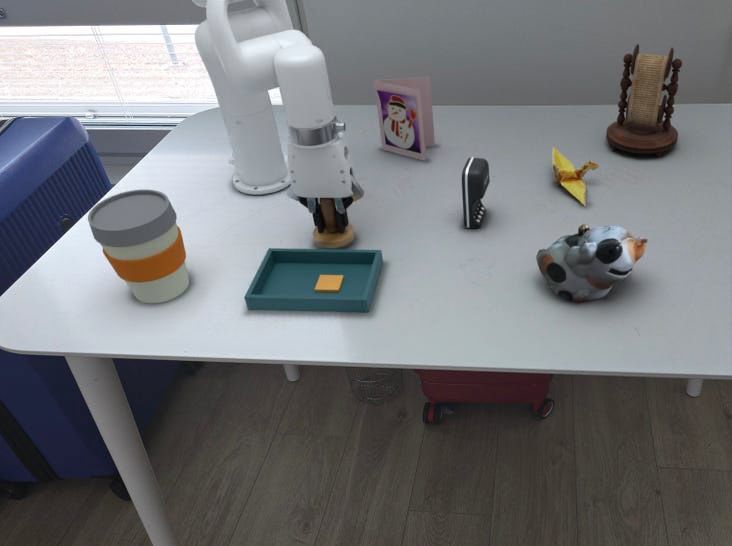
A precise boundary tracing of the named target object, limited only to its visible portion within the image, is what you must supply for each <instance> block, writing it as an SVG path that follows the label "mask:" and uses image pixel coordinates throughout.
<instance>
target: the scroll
mask: <svg viewBox="0 0 732 546" xmlns="http://www.w3.org/2000/svg"><path fill="white" fill-rule="evenodd" d="M634 46H635V47H634V49H633V52H632V54H631V53H626V54H625V55H623V58H622V61H623V63H624V64H623V67H624V69H623V71H622V78H620V83H619V87H620V90H621V93H620V95H619V99H620V100H619V101H618V102H617V107H618V110H617V111H618V115H617V117H616V121H614V122H612V123H611V124H609V125H608V126H607V129H606V133H605V138H606V141H607V142H608V143H609V144H610V145H611V150H612V151H613V152H614V151H616V149H618V150H621V151H624V152H628V153H633V154H656V157H657V158H660V157H661V156H662V154H663V152H665V151H667V150H670V149H672V148H673V147H675V145H676V144H677V143H678V138H679V132H678V130H677V128H676V127H674V125H672V123H671V119H672V118H673V116H672V115H673V114H674V112H675V107H674V104H675V96H676V95H677V93H678V89H679V84H678V81H679V73H680V72H681V70H680V69H681V68H682V67H683V61H682V59H680V58H675V59H673V58H674V52H675V51H674V49H675V48H674V47H670V49H669V53H668V55H659V54H651V53H650V54H649V53H641V52H640V44H639V43H637V44H635V45H634ZM671 72H672V74H671V76H670V73H671ZM631 75H632V79H631V78H630V77H631ZM669 76H670V79H669V80H670V83H667V84H666V83H665V82H666V80H667V79H668V78H669ZM629 89H630V91H629V95H628V90H629ZM664 91H666V92H667V94H664V95H663V97H662V92H664ZM667 95H668V97H667ZM661 97H662V101H661ZM660 103H661V104H660ZM663 119H664V120H663Z"/></svg>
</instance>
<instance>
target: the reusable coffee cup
mask: <svg viewBox="0 0 732 546" xmlns="http://www.w3.org/2000/svg"><path fill="white" fill-rule="evenodd" d="M177 217H178V216H177V212H176V211H175V209H174V206H173V205H172V203H171V201H170V199H169V197H168V196H167V195H166V194H165V193H163V192H162V191H160V190H155V189H133V190H128V191H123V192H120V193H115V194H113V195H111V196H109V197H107V198H104V199H103V200H101V201H100V202H98V203H96V205H94V206H93V207H92V208H91V210H90V211H89V212H88V215H87V221H88V224H89V227H90V230H91V234H92V236H93V239H94V240H95V241H96V242H97V243H98V244H99V245H100V246H101V247H102V253H103V255H104V257H105V259H106V260H107V262H108V263H109V264H110V265H111V267H112V269H113V271H114V272H115V273H116V275H117V276H118V277H119V278H120V279H122V280H123V281H124V282H125V284H126V285H127V286H128V287H129V290H130V291H131V292H132V294H133V295H134V297H135V299H136V300H138V301H139V302H141V303H144V304H160V303H165V302H168V301H171V300H173V299H176V298H177V297H179V296H181V295H182V294H183V293H184V292H185V291H187V289H188V287H189V284H190V277H189V273H188V269H187V263H186V260H187V259H186V258H187V252H186V246H185V243H184V239H183V235H182V230H181V228H180V227H179V226H178V224H177V219H178V218H177Z"/></svg>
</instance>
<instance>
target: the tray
mask: <svg viewBox="0 0 732 546" xmlns="http://www.w3.org/2000/svg"><path fill="white" fill-rule="evenodd" d="M383 264H384V259H383V251H382V249H350V248H349V249H348V248H346V249H319V248H286V247H285V248H284V247H283V248H281V247H280V248H279V247H274V248H273V247H269V248H268V249H267V251H266V253H265V255H264V257H263V259H262V261H261V263H260V265H259V267H258V269H257V270H256V273H255V274H254V277H253V279H252V281H251V283H250V285H249V287H248V288H247V291H246V293H245V294H244V297H243V298H244V302H245V304H246V307H247V310H248V311H276V312H277V311H282V312H283V311H284V312H320V313H321V312H327V313H328V312H329V313H367V314H368V313H370V310H371V306H372V302H373V299H374V295H375V292H376V289H377V285H378V281H379V278H380V274H381V271H382V267H383ZM320 275H344V280H343V283H342V286H341V288H340V291H339V293H329V292H315V287H316V284H317V282H318V279H319V277H320Z"/></svg>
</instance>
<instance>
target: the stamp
mask: <svg viewBox="0 0 732 546" xmlns="http://www.w3.org/2000/svg"><path fill="white" fill-rule="evenodd" d="M319 204H320V206H321V211H322V216H323V221H324V226H325V229H324V231H323V232H322V233H318V228H317V226H315V228H314V229H313V230H312V237H313V242H314V243H315V244H316V247H317V249H348V248H349V247H351V246H352V245H353V244H354V242H355V229H354V226H353V224H352V223H350V222H349V223H348V227H345V230H344V233H339V231H338V226H337V220H336V212H337V207H336V203H335V200H334V198H319Z"/></svg>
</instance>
